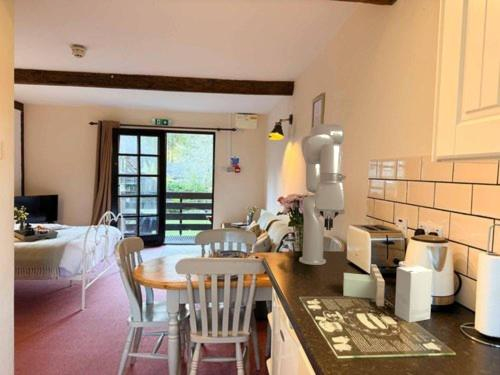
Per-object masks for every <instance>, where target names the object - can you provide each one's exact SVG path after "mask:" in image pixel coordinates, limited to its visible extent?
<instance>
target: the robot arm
mask: <svg viewBox="0 0 500 375" xmlns="http://www.w3.org/2000/svg"><path fill="white" fill-rule="evenodd" d="M309 133H310V134H309V135H305V136H304V137H303V138H302V139H301V153H302V157H303V158H304V160H303V161H304V163H305V187H306V191H307V192H309V193H312V194H313V193H314V194H315V195H314V194H313V195H307V196H304V198H303V199H302V212H303V234H302V235H303V237H302V238H303V239H302V256H300V257H299V259H298V262H300V263H301V264H305V265H312V266H319V265H321V266H322V265H325V264H327V260H326V258H324V238H325V235H324V234H325V230H326V231H331V229H333V228H334V219H335V218H337V216H340V215H344V214H345V186H344V182H342V180H346V179H347V178H346V177H347V176H346V175H343V174H342V172H343V168H342V167H343V159H344V150H343V146H342V144H343V143H344V139H345V131H344V127H343V126H342V125H341V124H330V123H329V124H328V123H320V124H316V125H315V124H314V125H313V126H312V128H311V129H310V131H309ZM320 217H323V219H324V221H322V220H321V219H320ZM323 222H324V223H323ZM324 228H326V229H324Z"/></svg>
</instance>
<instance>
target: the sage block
mask: <svg viewBox="0 0 500 375" xmlns="http://www.w3.org/2000/svg"><path fill="white" fill-rule="evenodd" d="M342 284H343V285H342V290H343V291H342V292H343V296H344V297H352V298H353V297H354V298H363V299H371V300H375V299H374V295H375V280H374V278H373V275H370V274H360V273H351V272H343V282H342Z"/></svg>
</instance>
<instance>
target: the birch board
mask: <svg viewBox="0 0 500 375" xmlns="http://www.w3.org/2000/svg"><path fill="white" fill-rule="evenodd" d="M369 270H370V271H369V273H370V274H369V275H373V278H374V280H375V295H374V299H373V300H374V302H375V304H376V306H377V307H384V305H385V285H386V282H385V280H384V278H383V276H382V273H381V272H380V269H379V268H378V266H377V264H373V263H371V264H370V269H369Z"/></svg>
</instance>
